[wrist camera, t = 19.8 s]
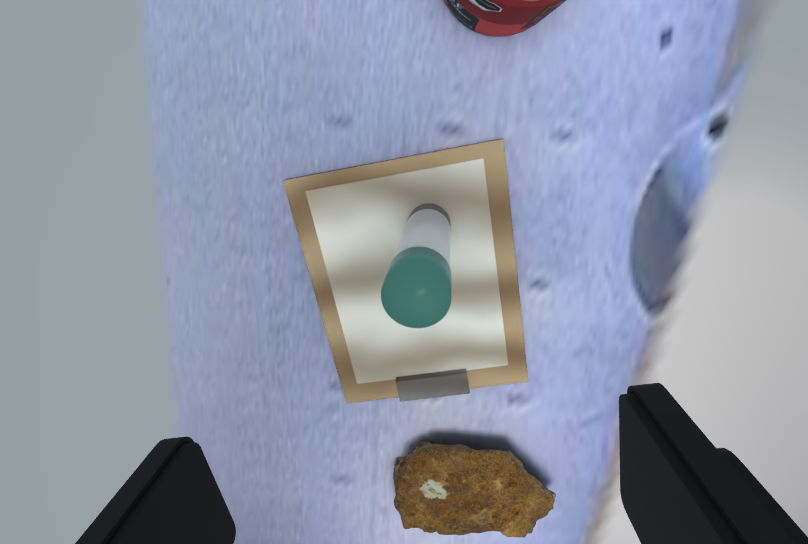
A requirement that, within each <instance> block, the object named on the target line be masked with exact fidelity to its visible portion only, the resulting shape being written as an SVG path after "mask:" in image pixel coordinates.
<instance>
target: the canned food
mask: <svg viewBox="0 0 808 544" xmlns="http://www.w3.org/2000/svg"><path fill="white" fill-rule="evenodd" d="M444 1H445V3H446V5H447V6H448V8H449V9H450V11H451V12H452V13H453V15H454V16H455V17H456V18H457V19H458V20H459V21H460V22H461V23H463V24H464V25H465V26H467V27H469V28H470V29H472V30H474V31H476V32H479V33H482V34H485V35H491V36H506V35H513V34H516V33H519V32H522V31H524V30H526V29H528V28H530V27H532V26H534V25H535V24H537V23H538V22H539V21H540V20H542V19H543V18H544V17H546V16H547V15H548V14H549V13H551V12H552V11H553V10H554V9H556V8H557V7H558V6H560V5H561V4H562V3H563V2H565V1H566V0H444Z"/></svg>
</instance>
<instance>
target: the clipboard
mask: <svg viewBox="0 0 808 544" xmlns="http://www.w3.org/2000/svg"><path fill="white" fill-rule="evenodd" d="M283 183H284V186H285V190H286V193H287V197H288V200H289V204H290V207H291V211H292V214H293V218H294V221H295V225H296V228H297V232H298V235H299V239H300V242H301V246H302V249H303V253H304V256H305V260H306V263H307V267H308V270H309V274H310V277H311V281H312V284H313V288H314V291H315V295H316V298H317V302H318V305H319V309H320V312H321V316H322V319H323V323H324V327H325V330H326V334H327V337H328V341H329V344H330V348H331V351H332V355H333V358H334V362H335V365H336V369H337V372H338V376H339V379H340V383H341V386H342V390H343V393H344V397H345V400H346V403H352V402H361V401H369V400H378V399H386V398H395V397H399V399H400V401H408V400H417V399H425V398H434V397H442V396H451V395H459V394H468V393H470V390H469V389H470V388H479V387H487V386H496V385H504V384H513V383H521V382H528V375H527V365H526V355H525V345H524V336H523V326H522V316H521V307H520V297H519V287H518V277H517V268H516V258H515V248H514V239H513V229H512V219H511V209H510V200H509V190H508V180H507V170H506V161H505V151H504V141H503V139H497V140H492V141H487V142H481V143H476V144H471V145H466V146H460V147H455V148H450V149H444V150H439V151H434V152H429V153H423V154H418V155H413V156H407V157H402V158H397V159H392V160H386V161H381V162H376V163H370V164H365V165H360V166H355V167H349V168H344V169H339V170H334V171H328V172H323V173H318V174H312V175H307V176H302V177H297V178H291V179H286V180H284V181H283ZM422 204H435V205H438V206H440V207H441V208H443V209H444V210H445V211H446V212H447V214H448V216H449V218H450V223H451V231H450V269H451V275H452V294H451V305H450V308H449V310H448V312H447V314H446V315H445V316H444V318H443V319H442V320H440V321H439V322H438V323H436V324H434V325H432V326H429V327H425V328H410V327H406V326H403V325H401V324H399V323H397V322H395V321H394V320H393V319H392V318H391V317H390V316H389V315H388V314H387V313H386V311H385V309H384V307H383V305H382V301H381V289H382V286H383V283H384V280H385V277H386V274H387V272H388V269H389V266H390V264H391V262H392V260H393V259H394V257H395V255H396V252H397V249H398V246H399V243H400V240H401V237H402V235H403V232H404V229H405V226H406V223H407V220H408V217H409V215H410V213H411V212H412V211H413V210H414V209H415V208H416V207H418V206H420V205H422Z"/></svg>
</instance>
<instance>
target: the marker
mask: <svg viewBox="0 0 808 544" xmlns="http://www.w3.org/2000/svg"><path fill="white" fill-rule="evenodd" d="M450 231H451V223H450V218H449V216H448V214H447V212H446V211H445V210H444V209H443V208H441V207H440V206H438V205H435V204H422V205H420V206H418V207H416V208H415V209H414V210H413V211H412V212H411V213H410V215H409V217H408V220H407V223H406V226H405V229H404V232H403V235H402V237H401V240H400V243H399V246H398V249H397V252H396V255H395V257H394V259H393V260H392V262H391V264H390V266H389V269H388V272H387V274H386V277H385V280H384V283H383V286H382V289H381V301H382V305H383V307H384V309H385V311H386V313H387V314H388V315H389V316H390V317H391V318H392V319H393V320H394V321H395V322H397V323H399V324H401V325H403V326H406V327H410V328H425V327H429V326H432V325H434V324H436V323H438V322H439V321H440V320H442V319H443V318H444V316H445V315H446V314H447V312H448V310H449V308H450V305H451V294H452V275H451V269H450Z"/></svg>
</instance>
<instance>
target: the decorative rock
mask: <svg viewBox="0 0 808 544" xmlns="http://www.w3.org/2000/svg"><path fill="white" fill-rule="evenodd" d="M393 479H394V484H395V492H396V496H395V499H394V505H395V508H396V509H397V510H398V511H399V513H400V515H401V520H402V524H403V527H404V528H405V529H409V528H420V529H422V530H423V531H424V532H429V533H433V532H436V531H437V532H438V533H439V534H443V535H455V534H456V535H464V534H468V533H482V532H486V531H501V533H502V534H503V535H505V536H507V537H525V536H526V535H527V533H532V531H533V528H534V526H535V525H536V521H537V520H539V519H541V518H543V517H545V516H546V515H547V514H548V512H549V511H550V510H552V509H553V503H554V500H555V497H556V494H555V493H554V492H552V491H550V490H548V488H546V487H545V486H544V485H543V483H542V482H541V481H540V480H539V479H537V478H536V477H535V476H533V475H531V474H529V473H528V472H527V471H526V470H525V469H524V467H523V463H522V462H521V461H520V460H519V459H517V458H516V457H515V455H514V454H513V453H512V452H511V451H510V450H508V451H501V450H492V449H482V450H474V449H472V448H470V447H468V446H466V445H462V444H454V445H441V444H435V443H434V444H431V443H430V442H426V441H424V440H422V441H421V442H420V444H419V445H417V446H416V448H415V449H414V450H413V451H412V453H410V452H409V453H408V455H407V456H406V458H404V457H398V458H397V460H396V462H395V468H394V476H393Z"/></svg>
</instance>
